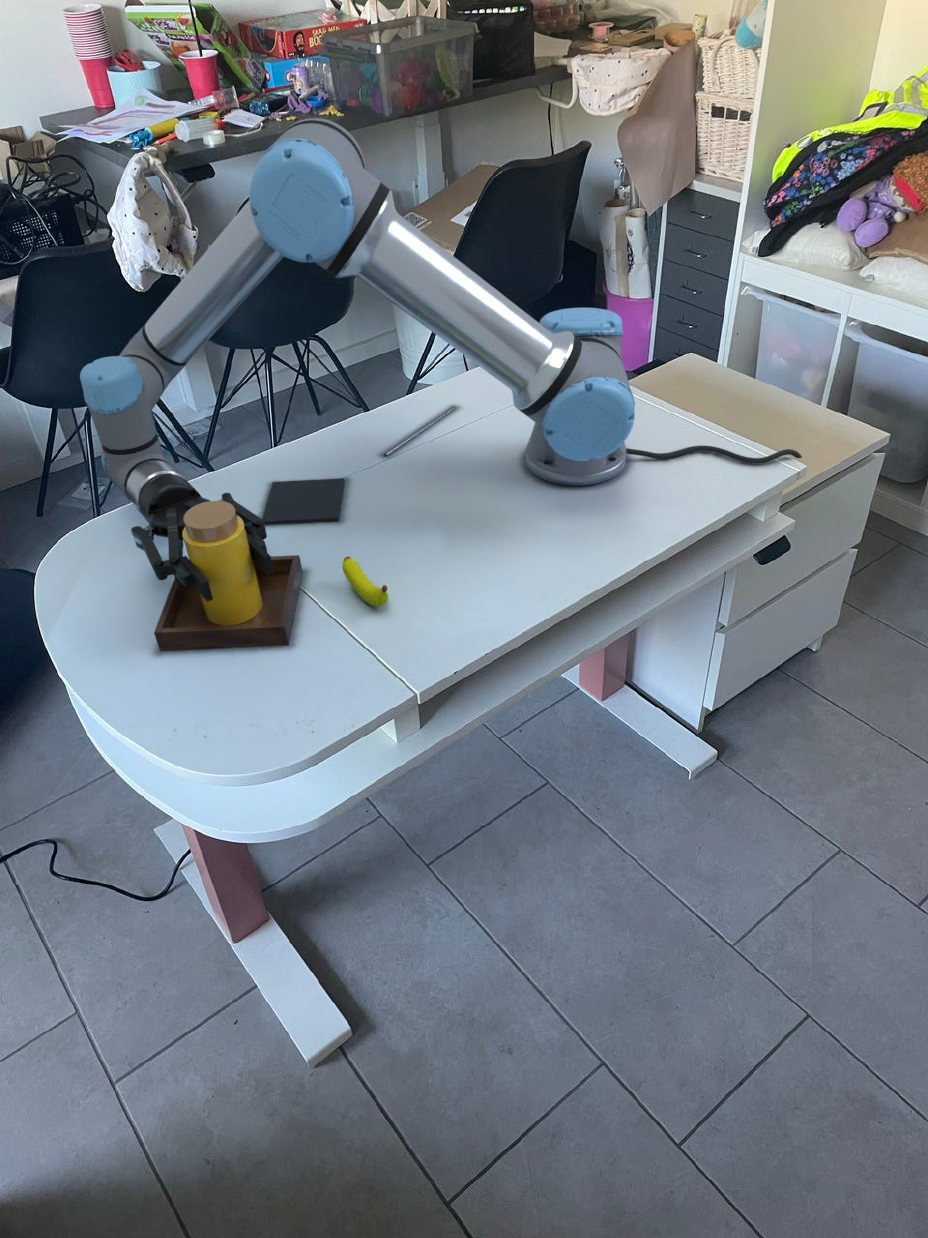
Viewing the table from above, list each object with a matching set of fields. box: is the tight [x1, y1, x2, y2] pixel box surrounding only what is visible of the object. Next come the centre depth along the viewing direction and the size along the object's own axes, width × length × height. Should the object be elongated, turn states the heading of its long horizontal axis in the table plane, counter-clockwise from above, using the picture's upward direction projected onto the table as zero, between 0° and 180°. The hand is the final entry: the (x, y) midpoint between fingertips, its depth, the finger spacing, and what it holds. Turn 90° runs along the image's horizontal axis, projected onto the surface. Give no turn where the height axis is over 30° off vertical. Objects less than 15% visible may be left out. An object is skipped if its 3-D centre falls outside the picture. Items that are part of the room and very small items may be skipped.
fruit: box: [341, 556, 389, 608], centre depth 114 cm, size 10×2×5 cm, turn 36°
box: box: [153, 554, 304, 652], centre depth 114 cm, size 16×15×3 cm
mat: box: [262, 477, 346, 526], centre depth 134 cm, size 11×11×1 cm
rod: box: [383, 405, 457, 457], centre depth 150 cm, size 1×19×1 cm, turn 145°
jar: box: [182, 500, 263, 625], centre depth 110 cm, size 7×7×14 cm
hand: (238, 578), depth 107 cm, fingers closed on jar, 7 cm apart
